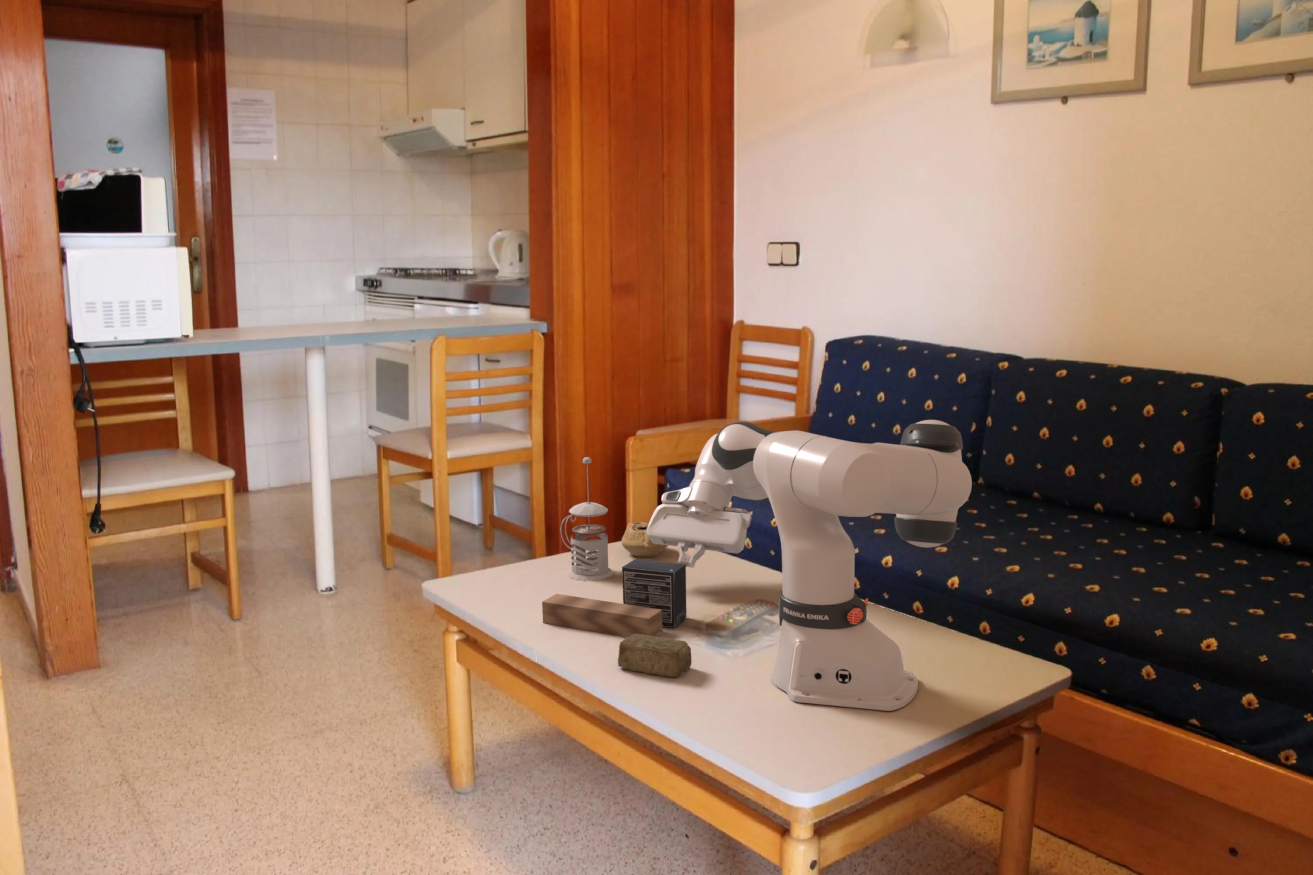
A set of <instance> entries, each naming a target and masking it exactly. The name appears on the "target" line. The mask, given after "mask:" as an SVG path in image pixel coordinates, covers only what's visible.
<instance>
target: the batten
mask: <svg viewBox="0 0 1313 875" xmlns="http://www.w3.org/2000/svg"><path fill="white" fill-rule="evenodd" d="M541 603H542V604H541V605H542V606H541V607H542V609H541V610H542V623H543V624H549V625H555V626H561V627H568V628H573V629H578V630H585V631H592V632H597V633H604V634H608V635H609V634H610V635H616V636H622V637H625V638H627V637H629V636H630V635H632V634H642V635H649V636H658V635H659V634H661V633H662V632H663V626H662V610H660V609H654V608H647V607H641V606H634V605H627V604H623V603H622V602H621V603H619V602H613V601H606V600H600V599H593V598H588V597H587V598H586V597H580V596H573V595H567V594H561V593H560V594H559V593H556V594H554V595H552V596H550V597H548V598H546V599H545V600H542V602H541Z"/></svg>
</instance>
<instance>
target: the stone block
mask: <svg viewBox="0 0 1313 875" xmlns="http://www.w3.org/2000/svg"><path fill="white" fill-rule="evenodd" d="M618 648H619V649H618V658H617V665H618V667H620V668H622V669H625V670H629V671H632V672H638V673H639V672H640V673H643V674H650V675H654V676H661V677H666V678H667V677H668V678H678V677H680V676H681V675H683V674H684V673H686V672H687V671H688V670H689V669H690V668H691V666H692V661H693V660H692V648H691V647H690V645H689V644H688V642H686V641H685V640H678V639H675V638H668V637H662V636H658V635H656V636H649V635H642V634H632V635H630V636H629V637H625V638H624V639H623V640H621V641H620V642H619V646H618Z"/></svg>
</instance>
